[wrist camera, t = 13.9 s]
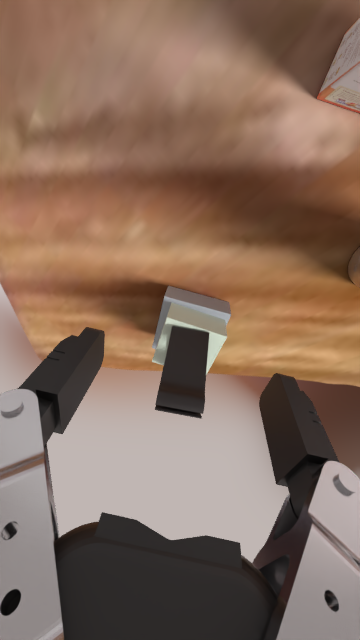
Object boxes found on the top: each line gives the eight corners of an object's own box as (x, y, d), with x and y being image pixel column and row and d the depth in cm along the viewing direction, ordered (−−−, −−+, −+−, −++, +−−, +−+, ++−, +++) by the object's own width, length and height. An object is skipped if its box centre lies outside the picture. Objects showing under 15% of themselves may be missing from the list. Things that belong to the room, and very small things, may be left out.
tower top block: (225, 320, 40) (227, 336, 36) (204, 359, 46) (204, 377, 42) (171, 302, 40) (167, 317, 36) (157, 344, 45) (151, 361, 41)
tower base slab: (229, 301, 44) (231, 314, 40) (209, 347, 50) (209, 363, 46) (168, 284, 43) (164, 296, 39) (156, 333, 50) (152, 347, 46)
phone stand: (172, 324, 36) (159, 382, 26) (209, 331, 36) (210, 392, 26) (165, 365, 41) (151, 427, 31) (198, 371, 41) (195, 435, 31)
